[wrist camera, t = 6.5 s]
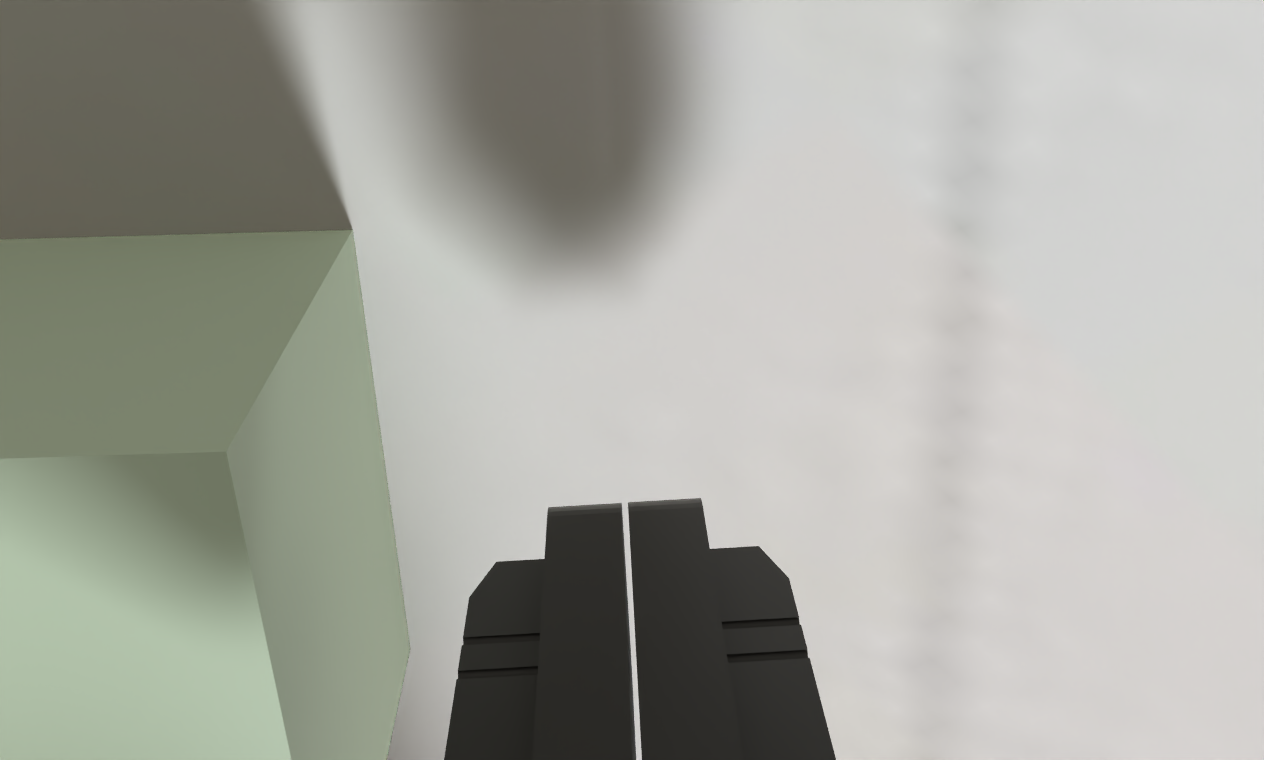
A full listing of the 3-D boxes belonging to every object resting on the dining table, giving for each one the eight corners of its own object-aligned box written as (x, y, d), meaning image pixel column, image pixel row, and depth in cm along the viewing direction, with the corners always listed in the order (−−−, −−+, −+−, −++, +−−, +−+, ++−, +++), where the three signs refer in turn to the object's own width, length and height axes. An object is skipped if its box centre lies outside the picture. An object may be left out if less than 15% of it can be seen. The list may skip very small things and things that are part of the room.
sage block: (356, 225, 12) (226, 451, 8) (411, 642, 15) (339, 983, 11) (-278, 241, 12) (-772, 483, 8) (-106, 659, 15) (-399, 1015, 11)
